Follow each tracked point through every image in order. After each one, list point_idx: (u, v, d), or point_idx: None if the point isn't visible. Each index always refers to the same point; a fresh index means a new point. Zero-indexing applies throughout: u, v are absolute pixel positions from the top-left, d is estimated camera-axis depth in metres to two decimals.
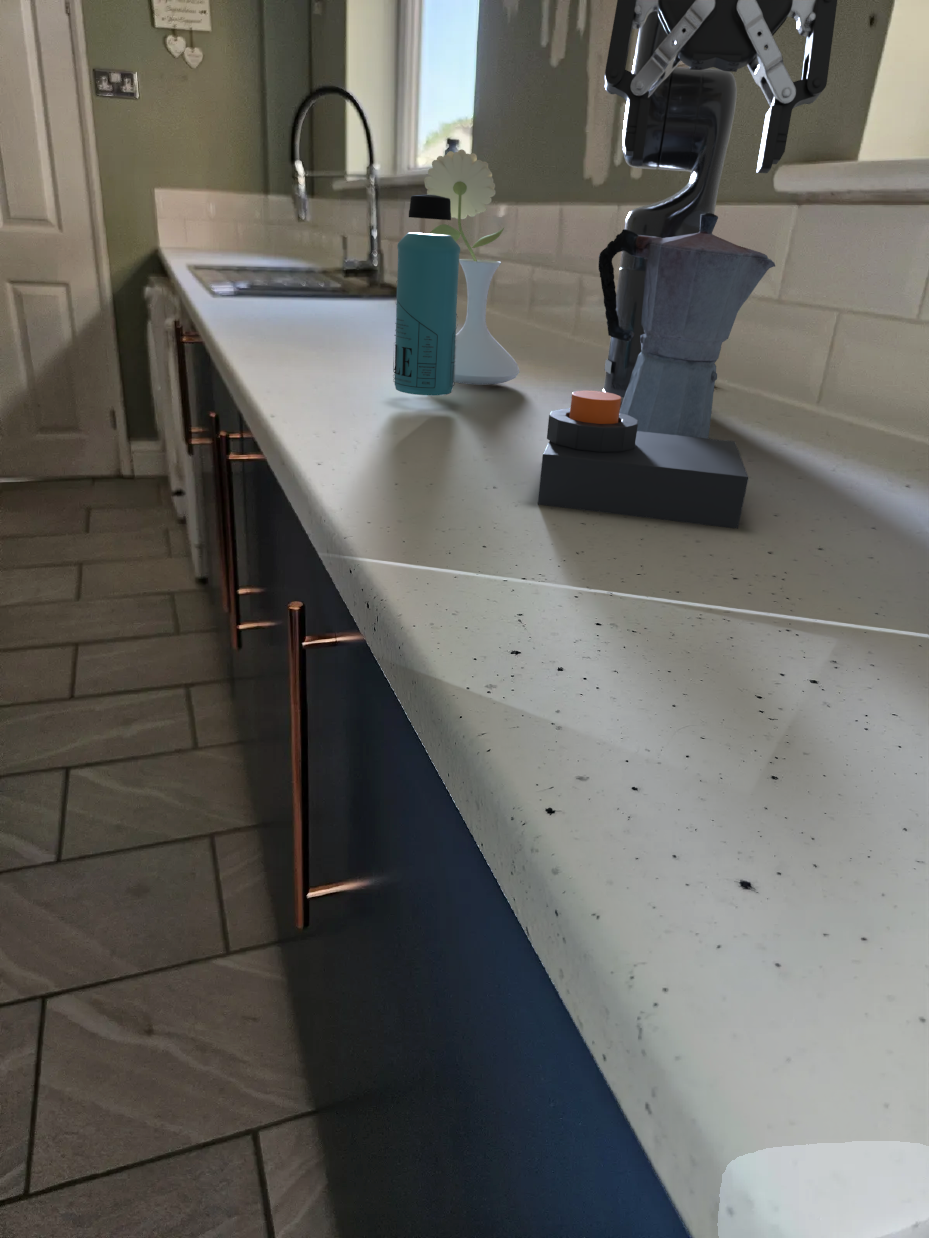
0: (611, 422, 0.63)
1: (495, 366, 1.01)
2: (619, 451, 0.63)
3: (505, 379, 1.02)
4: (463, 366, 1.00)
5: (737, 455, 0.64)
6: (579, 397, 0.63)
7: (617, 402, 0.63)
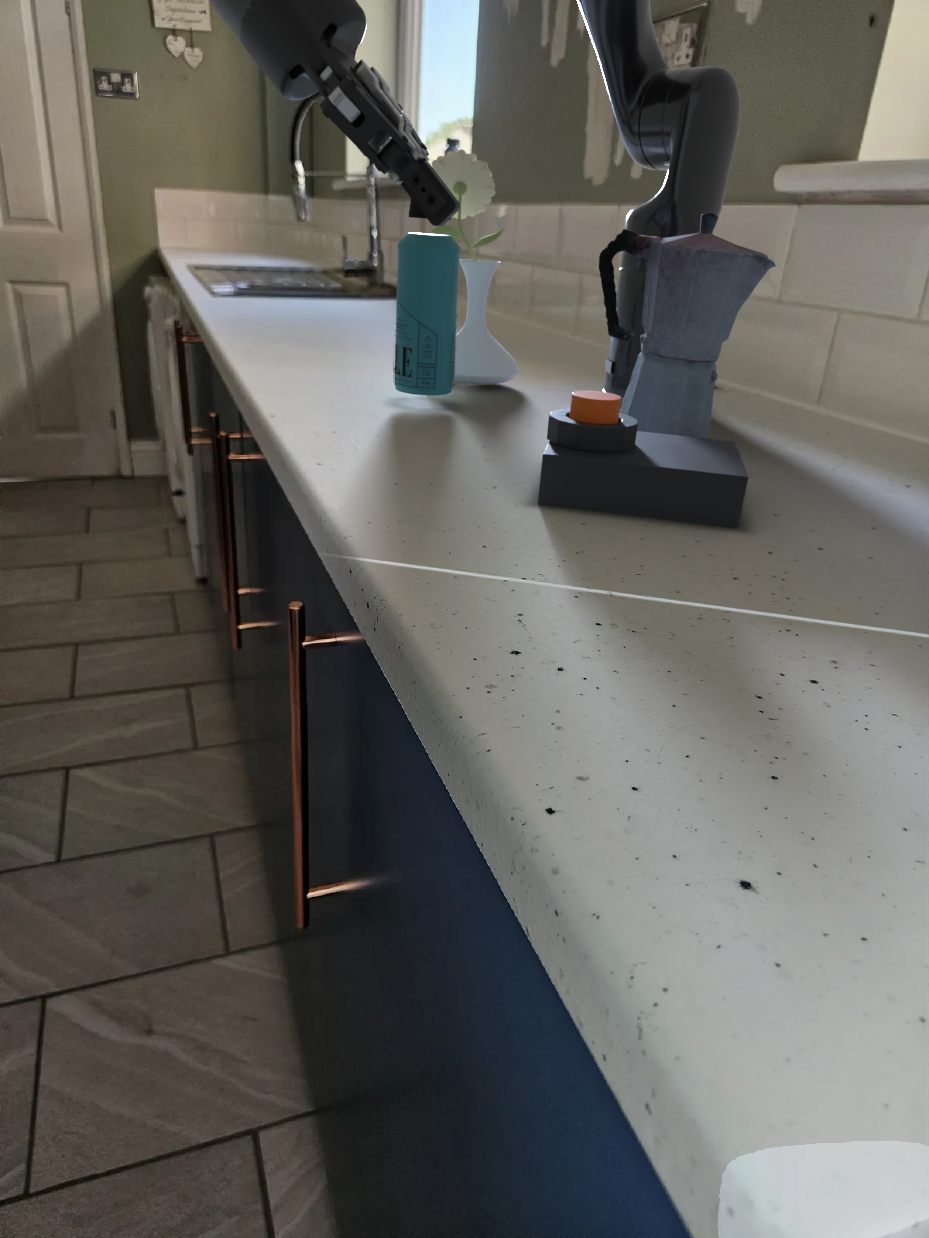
0: (611, 422, 0.63)
1: (495, 366, 1.01)
2: (619, 451, 0.63)
3: (505, 379, 1.02)
4: (463, 366, 1.00)
5: (737, 455, 0.64)
6: (579, 397, 0.63)
7: (617, 402, 0.63)
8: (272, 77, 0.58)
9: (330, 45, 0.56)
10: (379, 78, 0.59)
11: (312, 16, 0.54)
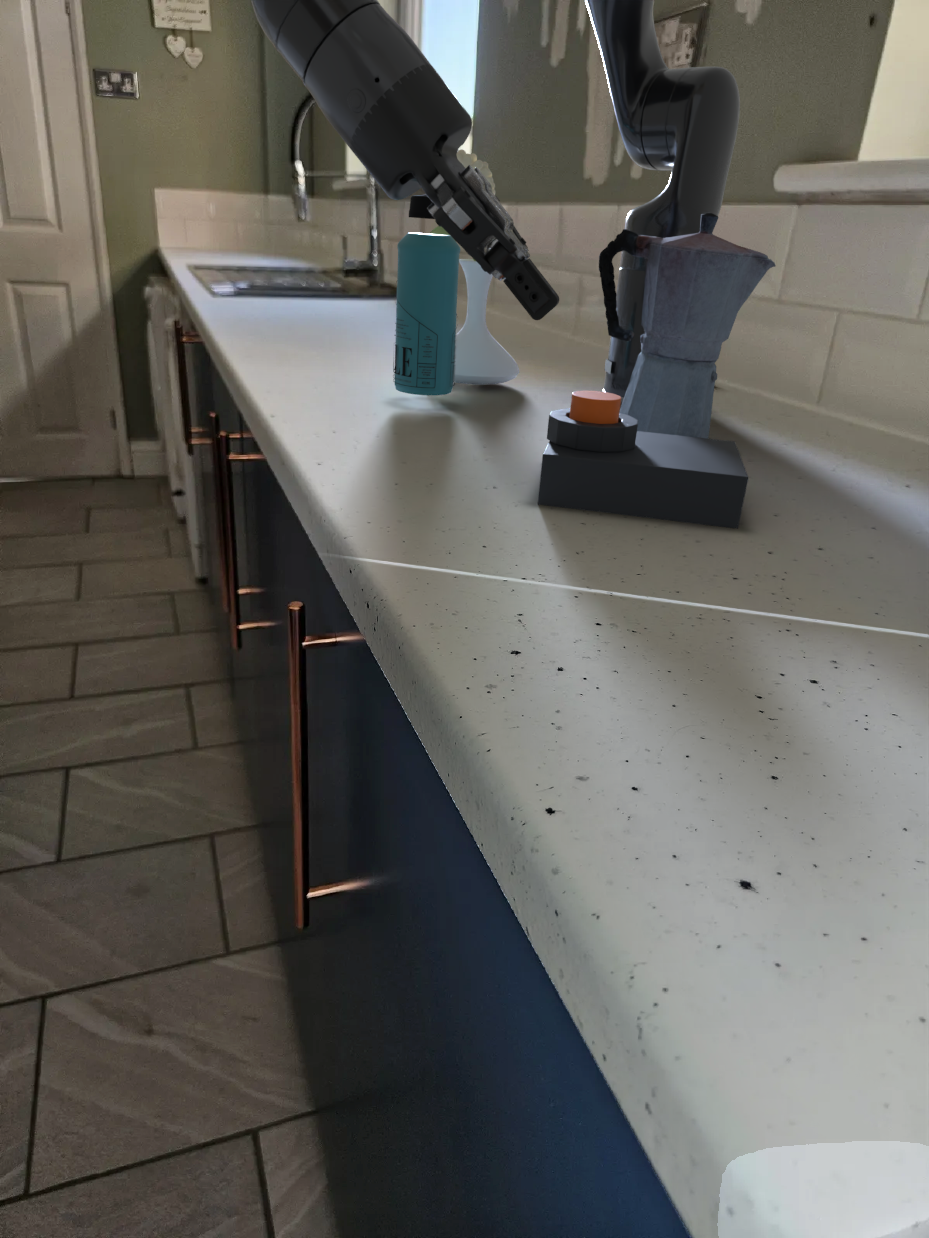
0: (611, 422, 0.63)
1: (495, 366, 1.01)
2: (619, 451, 0.63)
3: (505, 379, 1.02)
4: (463, 366, 1.00)
5: (737, 455, 0.64)
6: (579, 397, 0.63)
7: (617, 402, 0.63)
8: (381, 182, 0.59)
9: (440, 153, 0.57)
10: (483, 179, 0.60)
11: (425, 128, 0.56)
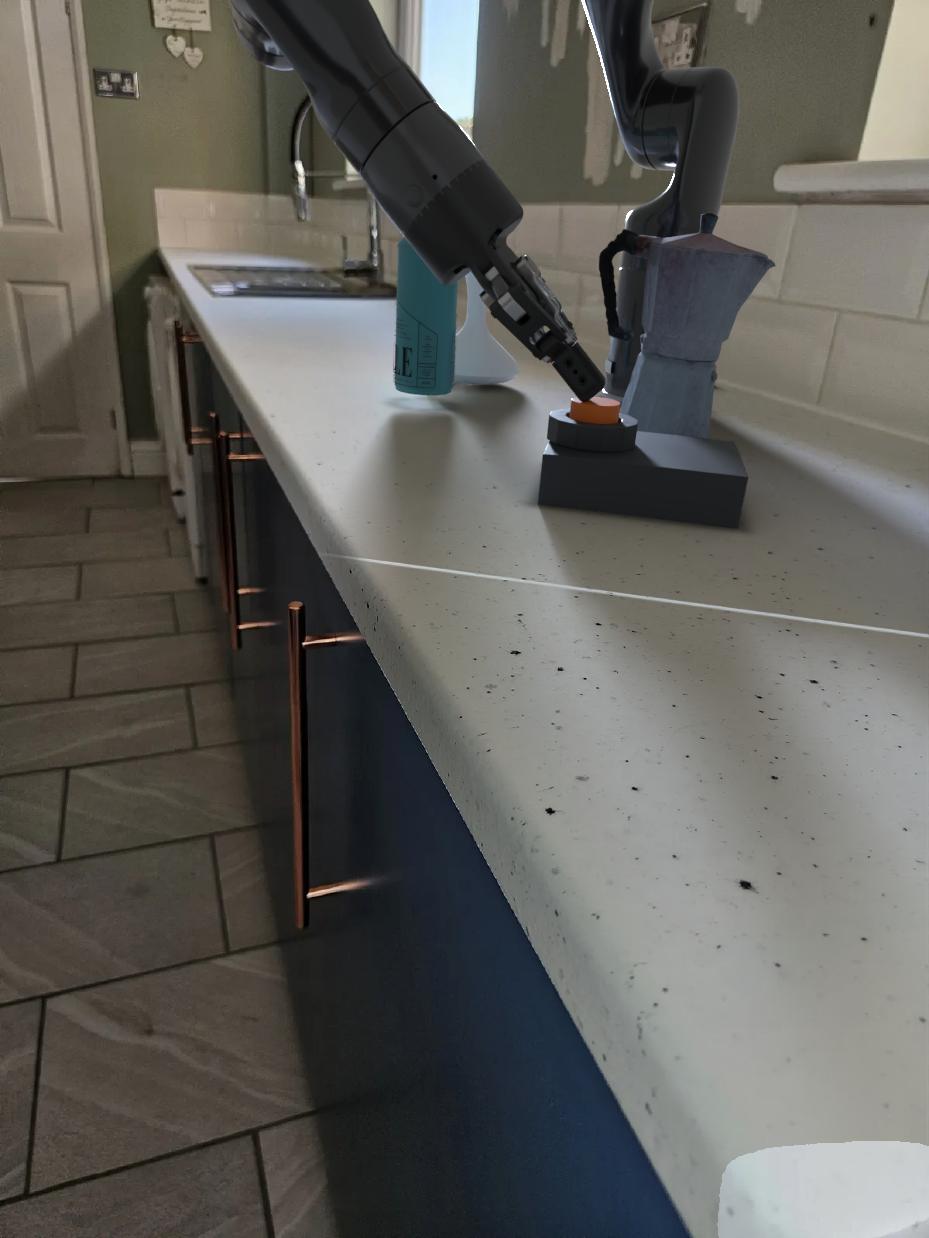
0: None
1: (495, 366, 1.01)
2: (619, 451, 0.63)
3: (505, 379, 1.02)
4: (463, 366, 1.00)
5: (737, 455, 0.64)
6: (578, 403, 0.63)
7: (616, 408, 0.63)
8: (434, 270, 0.61)
9: (495, 246, 0.59)
10: (533, 266, 0.62)
11: (481, 222, 0.57)
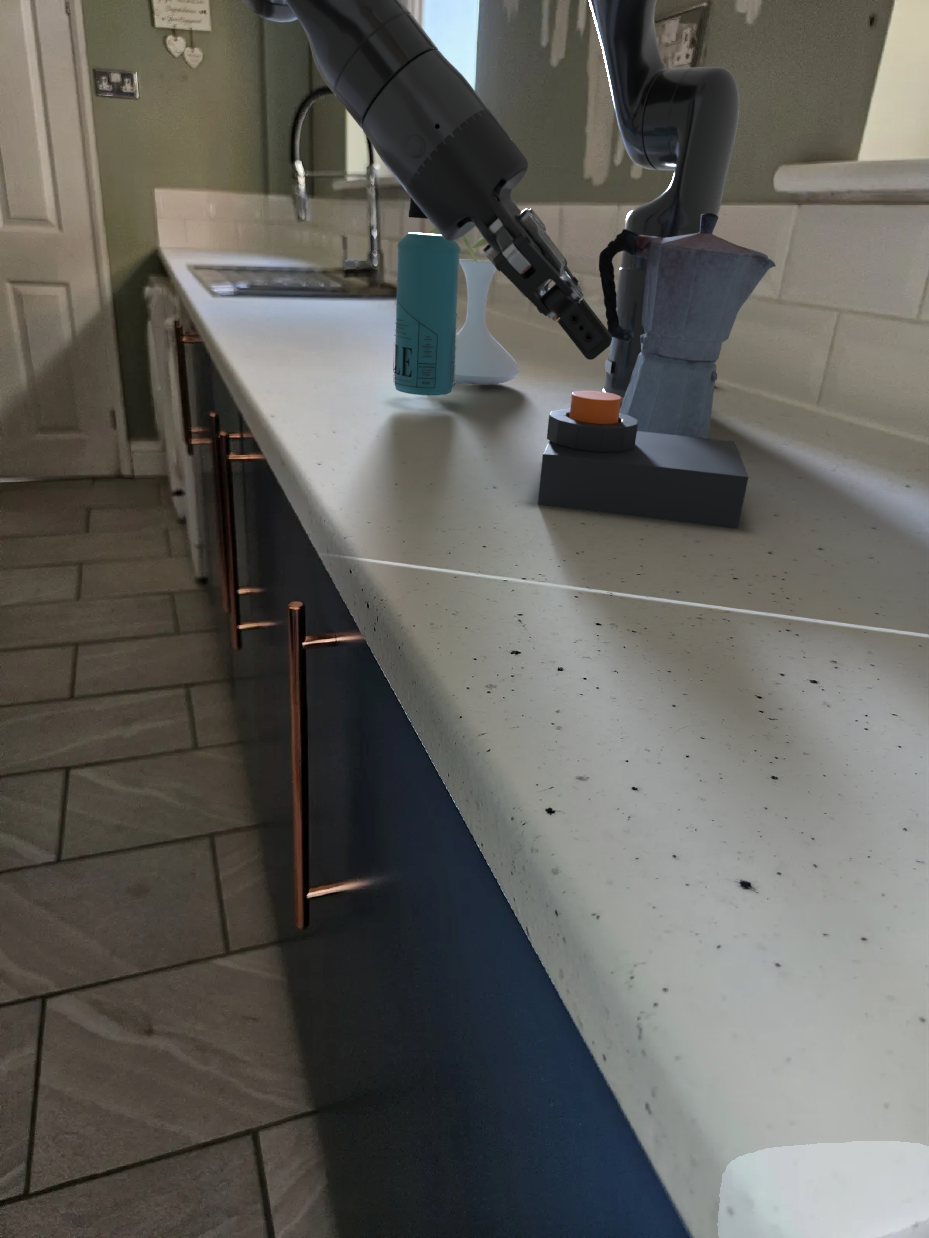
0: (611, 422, 0.63)
1: (495, 366, 1.01)
2: (619, 451, 0.63)
3: (505, 379, 1.02)
4: (463, 366, 1.00)
5: (737, 455, 0.64)
6: (579, 397, 0.63)
7: (617, 402, 0.63)
8: (437, 224, 0.59)
9: (499, 198, 0.57)
10: (538, 220, 0.60)
11: (484, 173, 0.56)
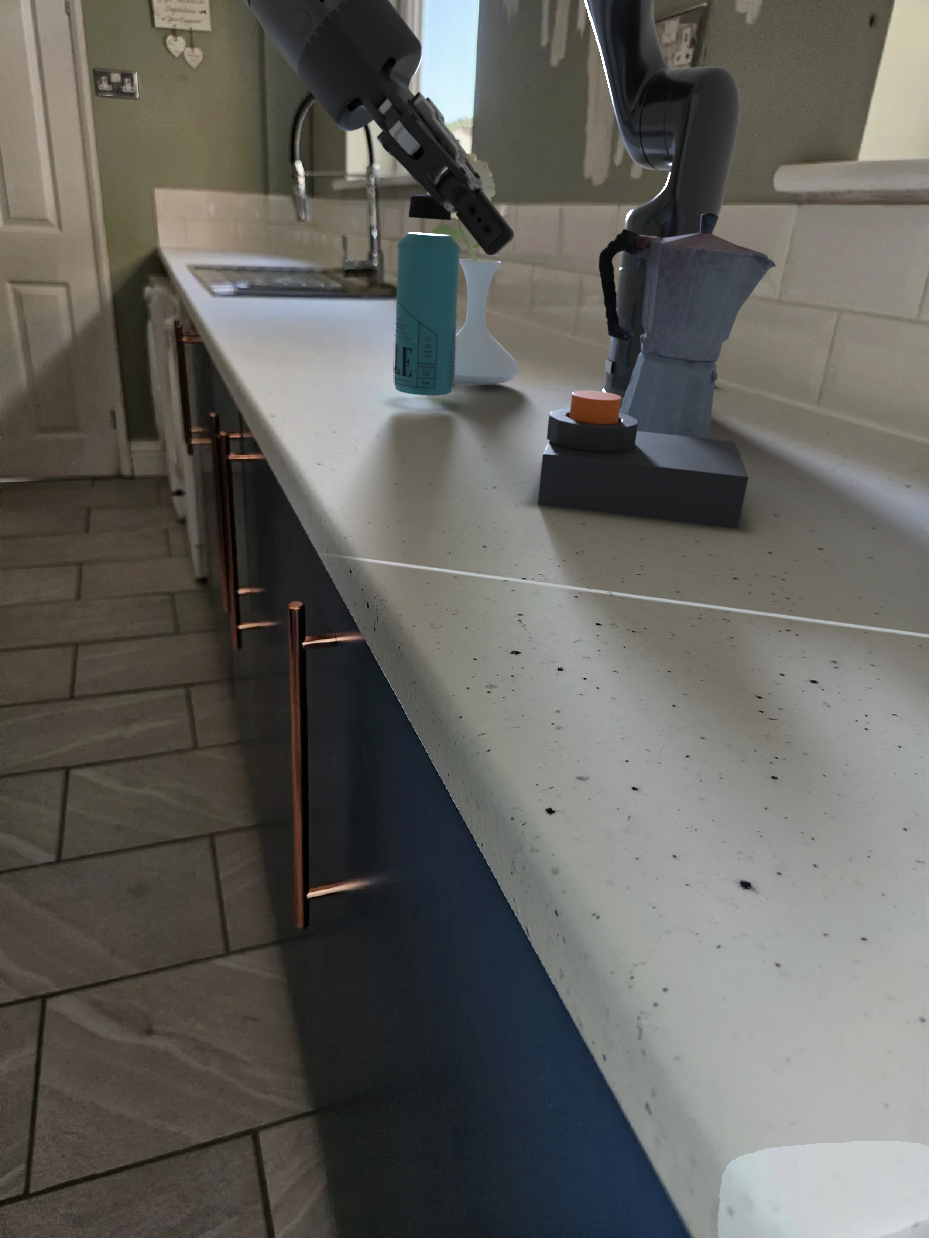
0: (611, 422, 0.63)
1: (495, 366, 1.01)
2: (619, 451, 0.63)
3: (505, 379, 1.02)
4: (463, 366, 1.00)
5: (737, 455, 0.64)
6: (579, 397, 0.63)
7: (617, 402, 0.63)
8: (329, 109, 0.58)
9: (389, 78, 0.56)
10: (435, 109, 0.59)
11: (372, 50, 0.55)
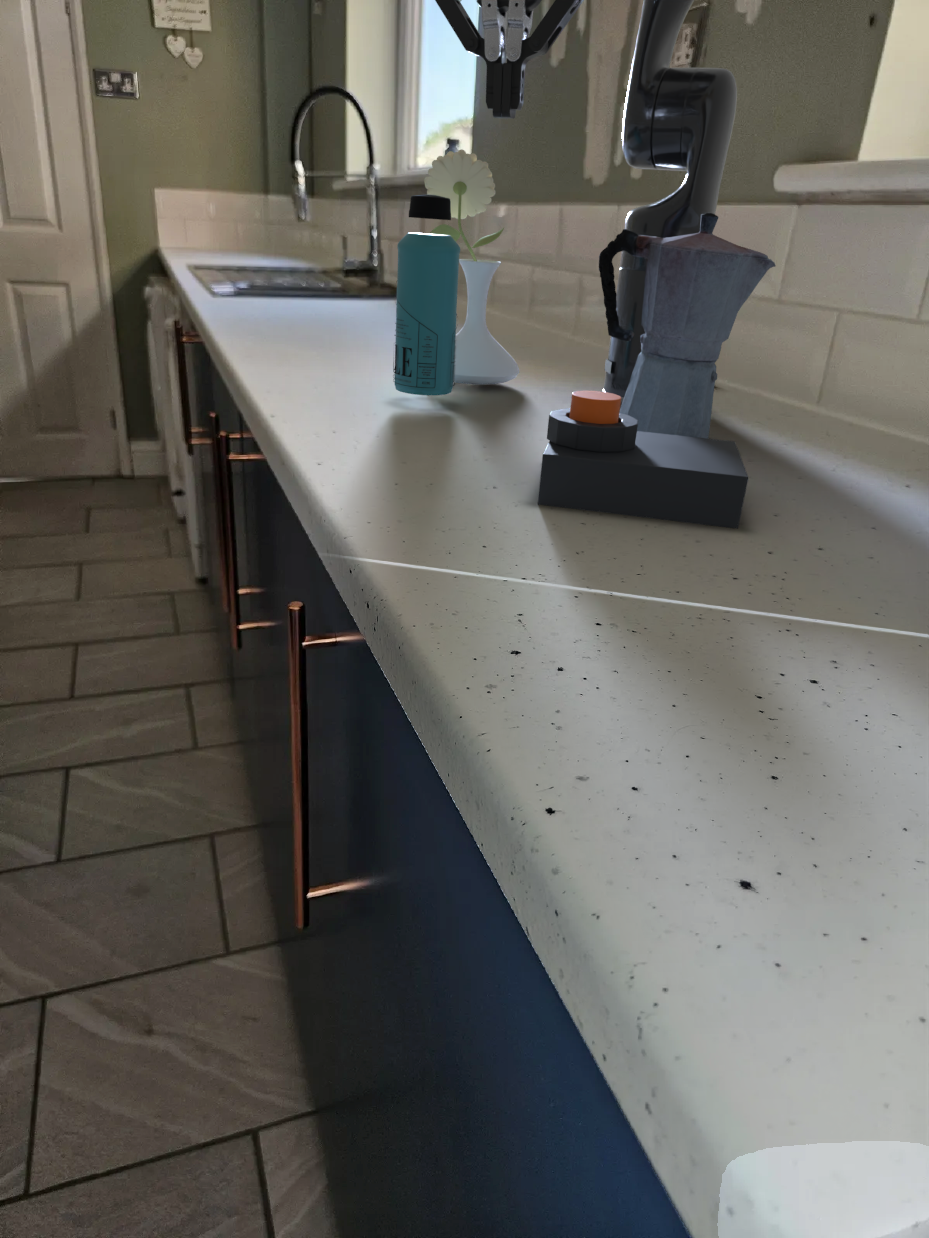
0: (611, 422, 0.63)
1: (495, 366, 1.01)
2: (619, 451, 0.63)
3: (505, 379, 1.02)
4: (463, 366, 1.00)
5: (737, 455, 0.64)
6: (579, 397, 0.63)
7: (617, 402, 0.63)
8: None
9: None
10: None
11: None
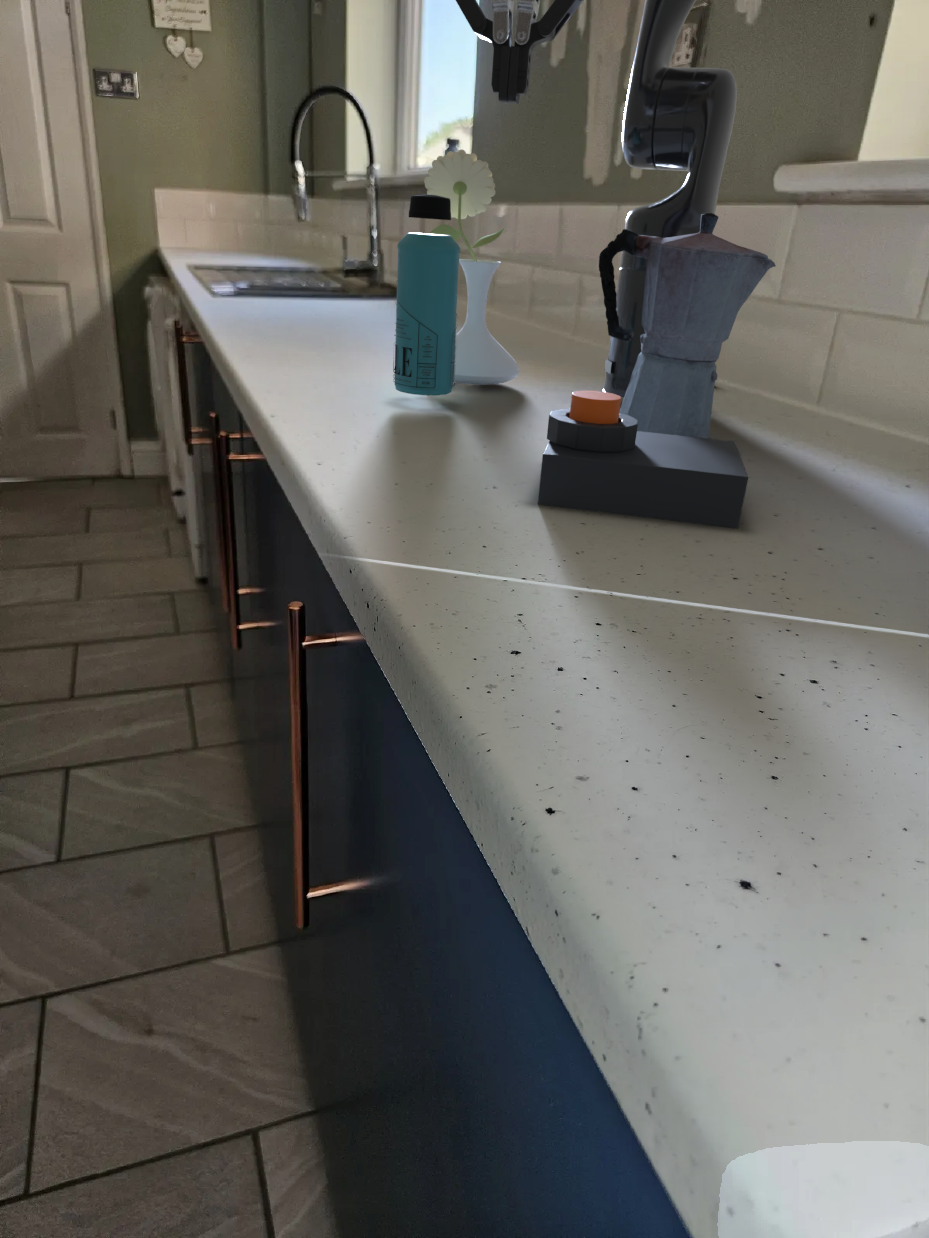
0: (611, 422, 0.63)
1: (495, 366, 1.01)
2: (619, 451, 0.63)
3: (505, 379, 1.02)
4: (463, 366, 1.00)
5: (737, 455, 0.64)
6: (579, 397, 0.63)
7: (617, 402, 0.63)
8: None
9: None
10: None
11: None
